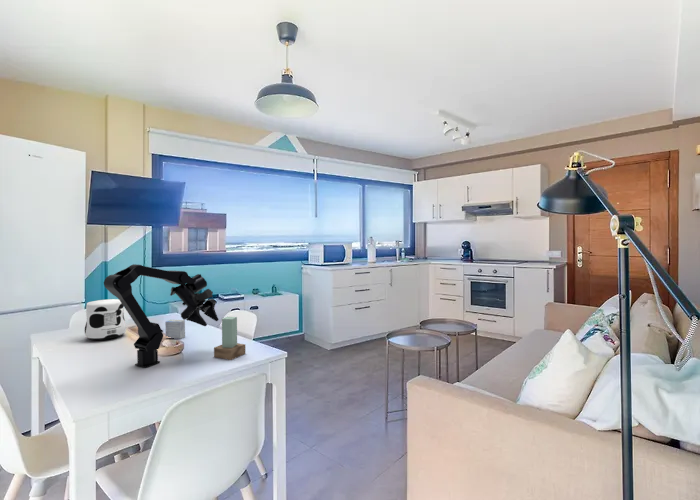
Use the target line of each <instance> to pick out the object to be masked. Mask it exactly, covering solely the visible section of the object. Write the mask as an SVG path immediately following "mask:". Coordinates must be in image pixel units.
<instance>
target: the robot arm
mask: <svg viewBox="0 0 700 500" xmlns="http://www.w3.org/2000/svg"><path fill="white" fill-rule="evenodd" d="M140 276H142V277H148V278H154V279H159V280H164V281H165V282H167V283H169V284H173V285H177V286H175V287H174V286H172V287H171V288H170V294H169V296H173V295H176V296H177V297H178V298H179V299H180V300H181V302H183V303H182V305H183V306H186V307H185V309H184V310H183V311H182V312H181V313H180V318H181V320H185V321H189V322H192V323H196V324H198V325H200V326H202V327H207V325H208V323H207V322H206V321H205V319H204V317H203V316H202V315H201V314H200V313H201V312H203V315H206V316H207V317H209V318H210V319H212V320H213V321H215V322H218V321H219V317H218V315H217V312H216V309H215V307H216V305H217V304H216V303H217V301H216V300H215V299H214V298H213V291H212V289H210V288H206V287H207V286H208V282H207V280H206V279H205V278H204V277H203V275H202V274H201V273H197V274H196V275H194V276H193V277H191V276H189V274H188V272H187V271H185V270H165V269H160V268H155V267H150V266H146V265H145V266H144V265H143V264H136V263H135V264H134V263H133V264H131V265H129V266H127V267H126V268H124V269H121V270H120V271H117V272H115V273H114V274H109V275H107V276H106V277H105V279H104V281H103V286H104V288H105V289H106V290H107V291H108V292H109V293H110V294H111V295H113V296H114V297H115V298H116V299H119V300H120V301H121V303H122V304H123V306H124V307H123V308H124V310H126V312H127V313H128V315H129V317H130V318H131V319H132V321H133V322H134V325H136V326H137V334H138V335H137V336H138V338H137V339H136V341H135V342H134V343H133V347H134V349H137V351H136V357H137V359H136V360H137V362H136V363H135V364H134V366H137V367H141V368H149V367H151V366H155V365H157V364H159V363H161V361H160V360H159V351H158V350H159V349H160V346H161V343H162V341H163V338H164V333H163V332H164V329H163V330H162V328H161V326H160V324H159V323H156V322H152V321H150V320H149V318H148V317H147V315H146V313H145V311H144V310H143V309H142V307H141V305H140V304H139V302H138V301H137V299H136V297H135V296H134V295H133V289H132V287H133V286H132V283H134V282H135V281H136V280H137V279H138V278H139V277H140ZM203 289H205V290H203ZM201 290H203V291H202V292H200V291H201ZM198 292H200V293H198ZM209 298H210V299H209ZM200 311H201V312H200Z"/></svg>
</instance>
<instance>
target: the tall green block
mask: <svg viewBox="0 0 700 500" xmlns="http://www.w3.org/2000/svg"><path fill="white" fill-rule="evenodd" d="M237 343H238V317H237V316H225V317H223V318H221V345H222V347H226V348H233V347H234V346H236V345H237Z"/></svg>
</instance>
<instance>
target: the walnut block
mask: <svg viewBox="0 0 700 500" xmlns="http://www.w3.org/2000/svg"><path fill="white" fill-rule="evenodd" d="M245 354H246V344H244V343H238V342H237V345H236V346H234V347H233V348H226V347H222V344H219V345H217V346H214V348H213V358H218V359H224V360H229V361H231V360H234V359H236V358H239V357H241V356H243V355H245ZM238 356H239V357H238Z"/></svg>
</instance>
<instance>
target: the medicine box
mask: <svg viewBox="0 0 700 500" xmlns="http://www.w3.org/2000/svg"><path fill="white" fill-rule="evenodd" d="M164 324H165V337H166V336H168V337H171V338H174V339H175V340H176V339H177V340H178V339H179V340H181V339H183V338H185V337H186V319H185V320H183V319H168V320H166V321H165V323H164Z"/></svg>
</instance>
